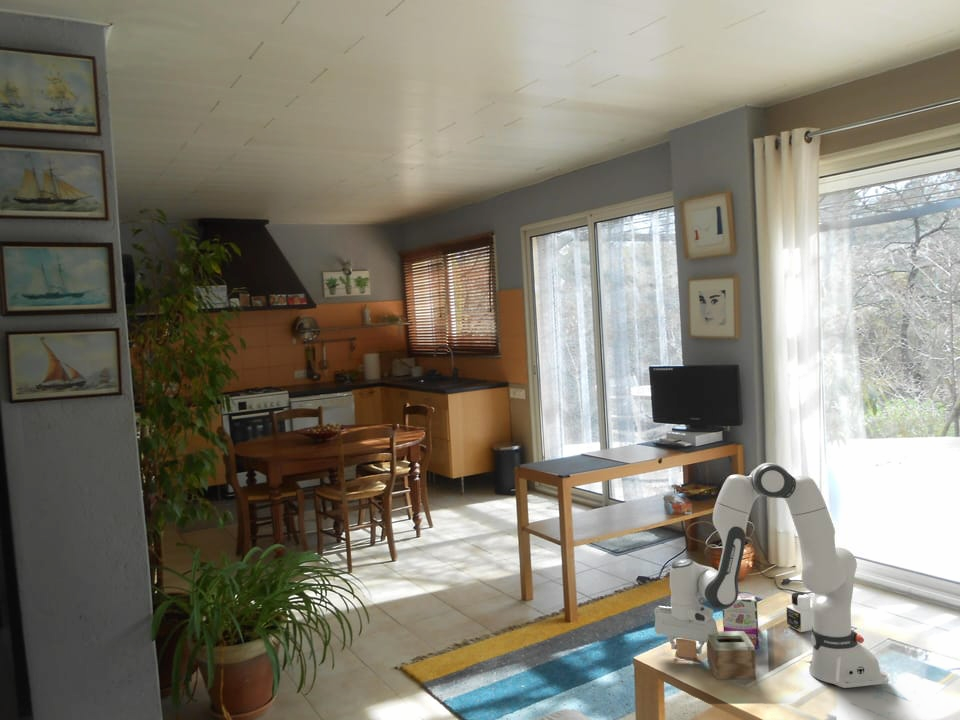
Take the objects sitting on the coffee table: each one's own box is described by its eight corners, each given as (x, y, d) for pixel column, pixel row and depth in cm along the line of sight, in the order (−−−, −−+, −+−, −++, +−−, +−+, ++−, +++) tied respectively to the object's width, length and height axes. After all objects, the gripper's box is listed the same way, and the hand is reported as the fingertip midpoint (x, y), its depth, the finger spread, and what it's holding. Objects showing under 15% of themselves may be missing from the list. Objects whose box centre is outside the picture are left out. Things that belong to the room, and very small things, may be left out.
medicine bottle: (786, 625, 267) (785, 592, 266) (803, 622, 269) (801, 589, 268) (800, 632, 260) (799, 598, 259) (817, 629, 262) (816, 595, 262)
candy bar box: (758, 642, 253) (756, 595, 253) (759, 649, 249) (757, 600, 248) (724, 640, 257) (722, 593, 257) (723, 646, 252) (721, 598, 252)
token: (695, 656, 246) (694, 638, 246) (696, 660, 243) (696, 642, 243) (676, 656, 247) (675, 638, 246) (678, 660, 244) (677, 642, 243)
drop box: (745, 661, 240) (744, 631, 240) (755, 678, 228) (754, 646, 228) (707, 662, 241) (706, 631, 241) (715, 679, 229) (714, 647, 229)
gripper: (650, 608, 247) (652, 649, 248) (713, 617, 236) (714, 660, 237) (657, 601, 252) (658, 641, 253) (718, 611, 242) (720, 652, 242)
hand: (686, 651), depth 245 cm, fingers closed on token, 7 cm apart
